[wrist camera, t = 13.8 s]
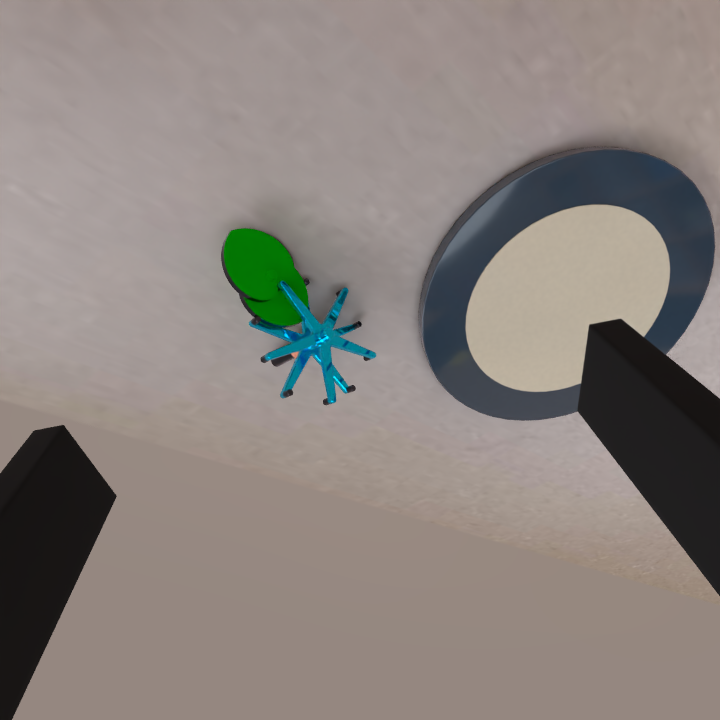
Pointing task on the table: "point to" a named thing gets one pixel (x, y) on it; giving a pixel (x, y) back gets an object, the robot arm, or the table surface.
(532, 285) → the plate
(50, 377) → the table surface
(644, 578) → the table surface
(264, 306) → the spiky blue green toy
